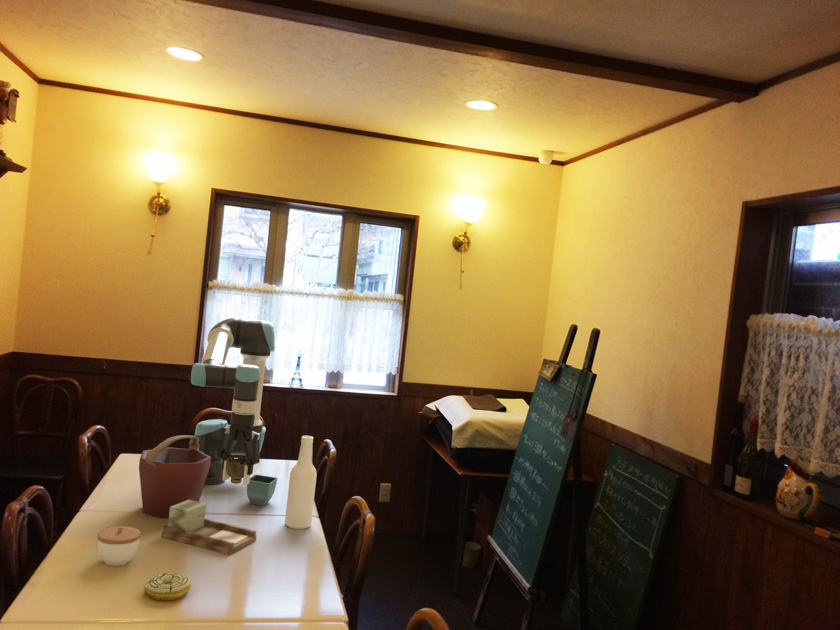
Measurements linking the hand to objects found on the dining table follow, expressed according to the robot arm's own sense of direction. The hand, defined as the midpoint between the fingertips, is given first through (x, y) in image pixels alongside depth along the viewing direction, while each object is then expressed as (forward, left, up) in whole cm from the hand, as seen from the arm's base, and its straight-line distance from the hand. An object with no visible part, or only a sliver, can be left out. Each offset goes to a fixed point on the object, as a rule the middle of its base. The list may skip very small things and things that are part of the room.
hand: (235, 481), depth 219 cm
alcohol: (-12, +18, -14) cm, 26 cm away
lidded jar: (+42, -8, -14) cm, 45 cm away
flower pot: (-24, -4, -14) cm, 28 cm away
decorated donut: (+50, +15, -14) cm, 54 cm away
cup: (0, 0, -1) cm, 1 cm away
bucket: (+1, -23, -14) cm, 27 cm away
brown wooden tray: (+15, +2, -14) cm, 20 cm away
